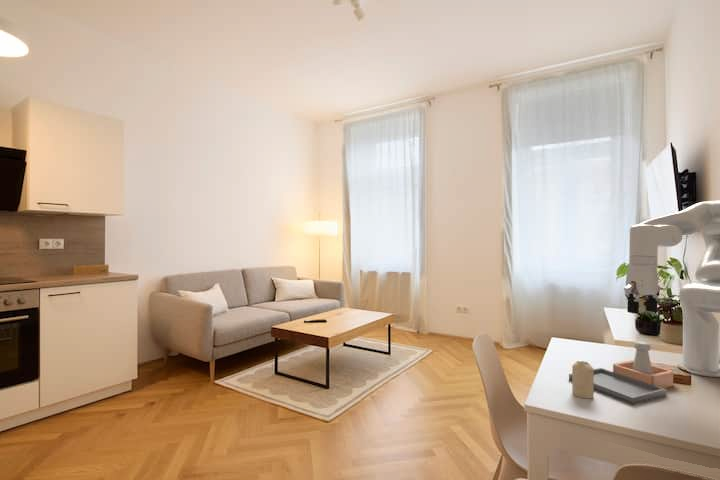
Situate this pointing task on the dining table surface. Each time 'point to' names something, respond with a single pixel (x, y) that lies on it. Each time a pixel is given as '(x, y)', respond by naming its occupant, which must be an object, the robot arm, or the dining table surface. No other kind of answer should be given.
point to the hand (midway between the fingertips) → (642, 312)
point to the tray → (624, 387)
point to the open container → (658, 378)
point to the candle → (583, 380)
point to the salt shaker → (642, 358)
